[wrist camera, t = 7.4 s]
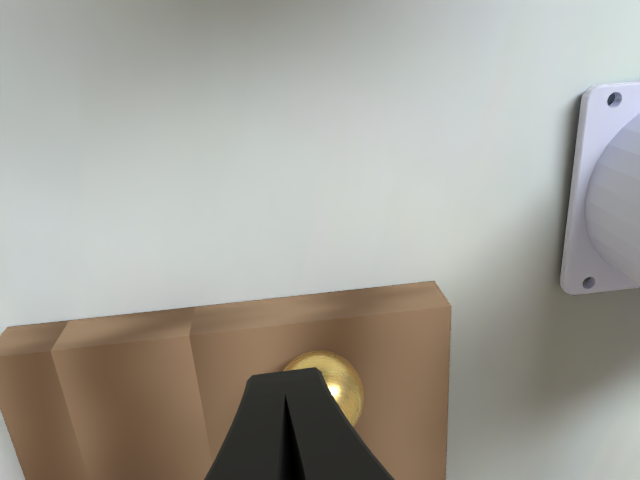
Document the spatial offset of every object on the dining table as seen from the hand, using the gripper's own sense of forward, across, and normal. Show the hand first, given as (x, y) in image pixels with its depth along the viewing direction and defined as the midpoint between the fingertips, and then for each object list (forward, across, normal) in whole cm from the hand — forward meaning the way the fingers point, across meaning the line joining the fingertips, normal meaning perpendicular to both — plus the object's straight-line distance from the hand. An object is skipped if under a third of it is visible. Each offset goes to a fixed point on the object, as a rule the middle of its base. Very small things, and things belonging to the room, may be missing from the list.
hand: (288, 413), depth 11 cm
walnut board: (+10, +2, +12) cm, 16 cm away
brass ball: (+6, -1, +5) cm, 8 cm away
